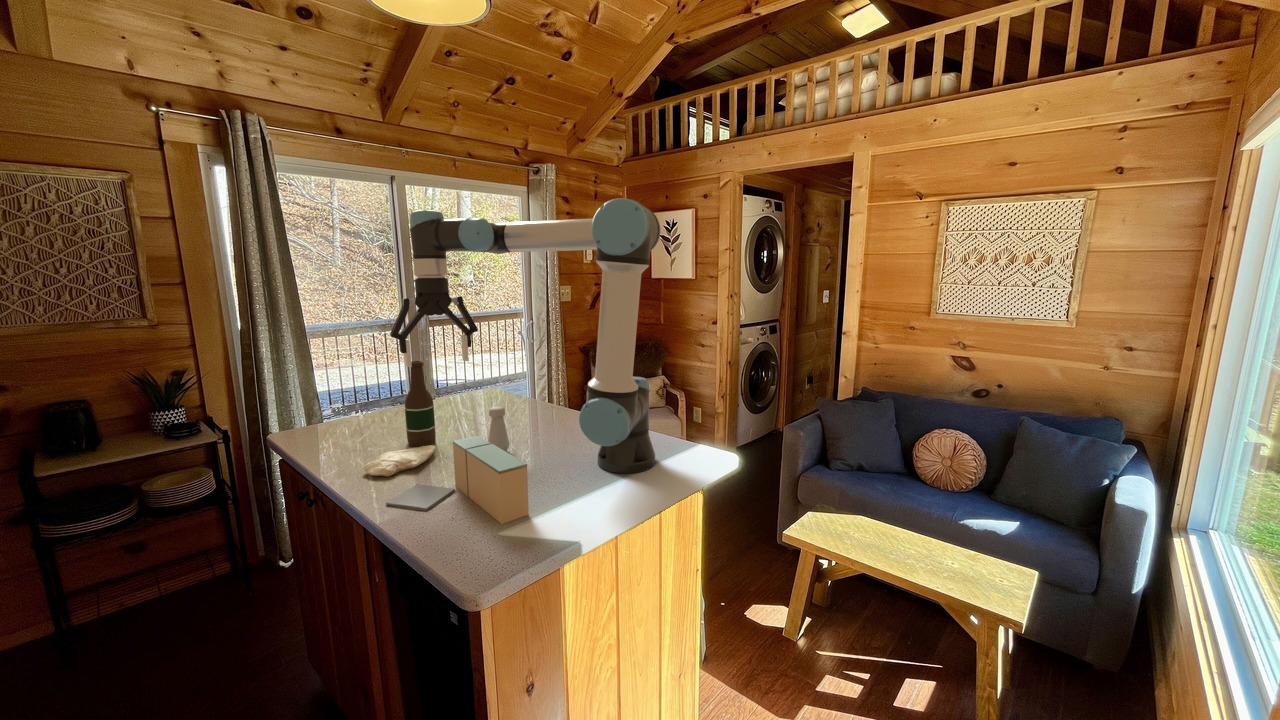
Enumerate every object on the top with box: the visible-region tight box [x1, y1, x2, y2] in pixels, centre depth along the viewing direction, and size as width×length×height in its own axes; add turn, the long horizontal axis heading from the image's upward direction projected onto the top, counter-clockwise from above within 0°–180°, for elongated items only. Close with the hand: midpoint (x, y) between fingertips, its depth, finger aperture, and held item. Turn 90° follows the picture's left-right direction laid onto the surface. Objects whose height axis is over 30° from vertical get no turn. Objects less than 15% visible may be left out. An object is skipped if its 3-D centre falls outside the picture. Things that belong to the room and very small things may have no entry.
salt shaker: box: [487, 405, 510, 453], centre depth 140 cm, size 6×6×13 cm
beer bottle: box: [404, 360, 437, 447], centre depth 147 cm, size 8×8×24 cm
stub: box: [452, 435, 491, 497], centre depth 118 cm, size 7×6×11 cm
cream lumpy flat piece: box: [362, 444, 436, 477], centre depth 132 cm, size 4×13×20 cm
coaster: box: [385, 483, 456, 512], centre depth 113 cm, size 10×10×1 cm
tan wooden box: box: [466, 444, 530, 525], centre depth 109 cm, size 16×6×11 cm, turn 41°
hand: (438, 363), depth 128 cm, fingers open, 13 cm apart
